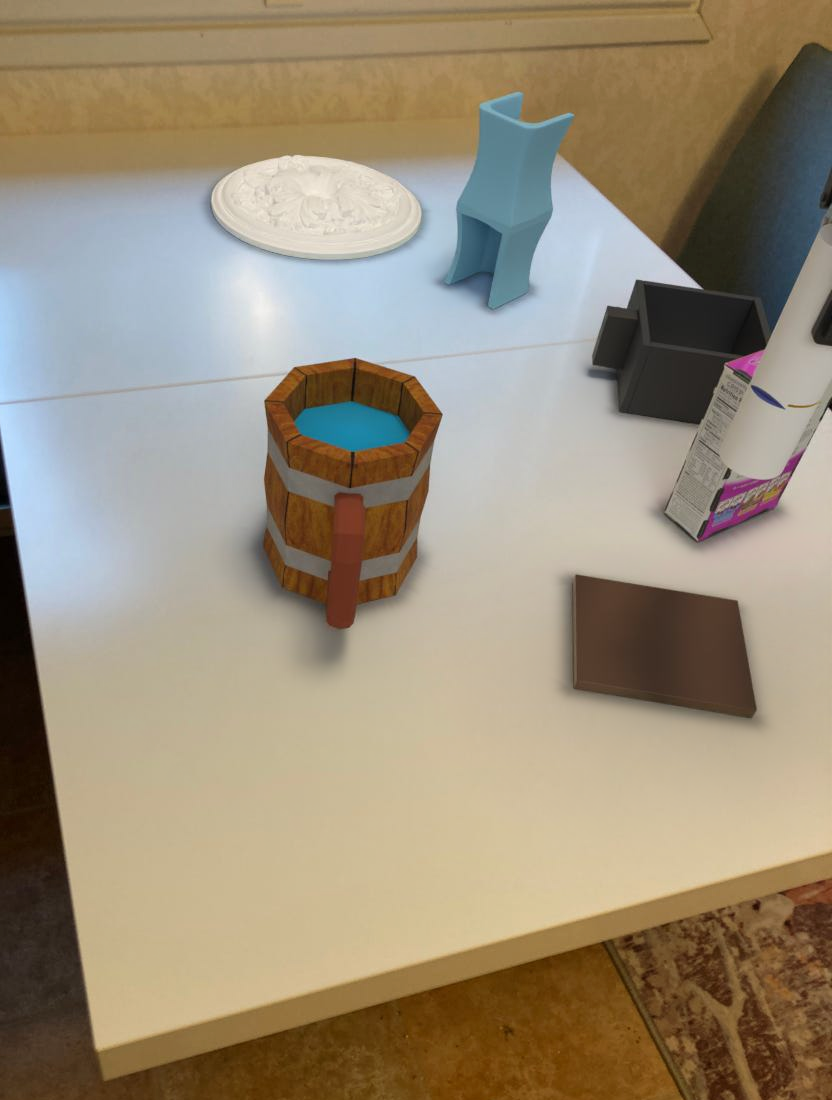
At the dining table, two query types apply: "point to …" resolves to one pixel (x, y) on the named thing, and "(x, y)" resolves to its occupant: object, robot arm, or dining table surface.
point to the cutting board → (660, 646)
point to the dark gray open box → (676, 346)
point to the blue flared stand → (506, 197)
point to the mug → (346, 481)
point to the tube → (785, 376)
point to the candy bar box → (708, 484)
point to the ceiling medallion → (316, 208)
